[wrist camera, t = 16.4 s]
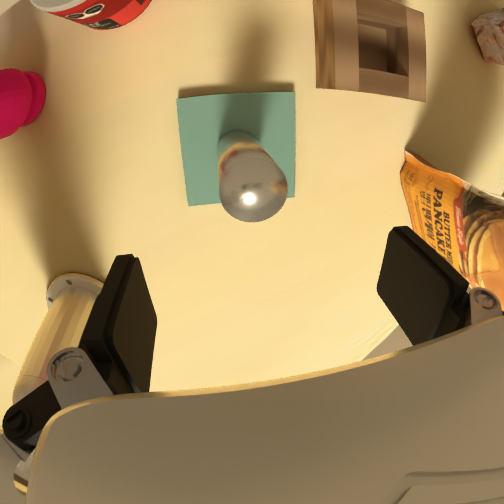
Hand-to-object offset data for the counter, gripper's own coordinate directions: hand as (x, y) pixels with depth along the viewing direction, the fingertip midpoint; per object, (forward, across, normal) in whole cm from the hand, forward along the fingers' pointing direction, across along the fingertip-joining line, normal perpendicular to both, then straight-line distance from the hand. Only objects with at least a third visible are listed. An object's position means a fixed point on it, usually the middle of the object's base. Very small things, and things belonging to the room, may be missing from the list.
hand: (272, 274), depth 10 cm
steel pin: (+20, -1, -1) cm, 20 cm away
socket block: (+20, -14, -12) cm, 27 cm away
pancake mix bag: (+20, -25, +6) cm, 33 cm away
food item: (+20, -38, -22) cm, 48 cm away
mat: (+21, -1, -1) cm, 21 cm away
